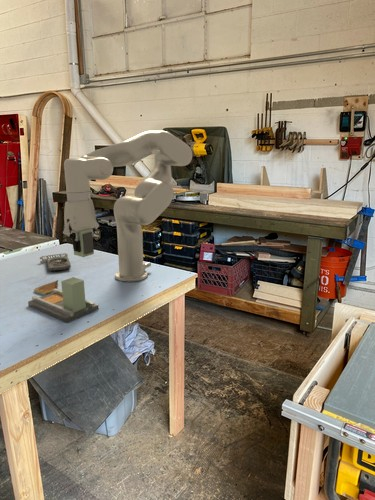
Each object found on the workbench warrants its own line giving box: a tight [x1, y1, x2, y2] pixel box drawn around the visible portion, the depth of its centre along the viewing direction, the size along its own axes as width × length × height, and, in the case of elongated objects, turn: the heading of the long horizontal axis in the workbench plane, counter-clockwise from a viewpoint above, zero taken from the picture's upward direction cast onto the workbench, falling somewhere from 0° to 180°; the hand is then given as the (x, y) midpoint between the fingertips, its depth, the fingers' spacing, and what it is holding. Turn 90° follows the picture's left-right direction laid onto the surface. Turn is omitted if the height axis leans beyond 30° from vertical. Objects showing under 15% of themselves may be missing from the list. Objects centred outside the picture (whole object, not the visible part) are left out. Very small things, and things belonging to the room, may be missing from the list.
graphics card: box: [39, 252, 72, 272], centre depth 160 cm, size 17×4×12 cm
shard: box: [33, 279, 59, 296], centre depth 136 cm, size 11×8×2 cm
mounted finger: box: [60, 276, 86, 312], centre depth 116 cm, size 4×6×9 cm
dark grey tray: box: [27, 288, 99, 324], centre depth 120 cm, size 12×20×3 cm, turn 54°
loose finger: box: [73, 229, 95, 258], centre depth 128 cm, size 4×6×9 cm
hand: (83, 249), depth 129 cm, fingers closed on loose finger, 4 cm apart
